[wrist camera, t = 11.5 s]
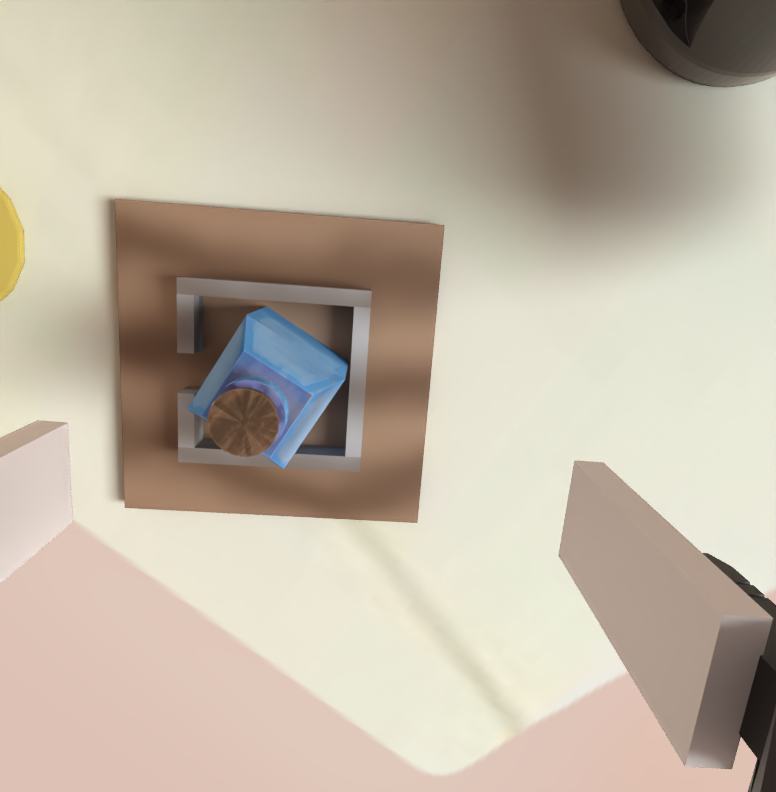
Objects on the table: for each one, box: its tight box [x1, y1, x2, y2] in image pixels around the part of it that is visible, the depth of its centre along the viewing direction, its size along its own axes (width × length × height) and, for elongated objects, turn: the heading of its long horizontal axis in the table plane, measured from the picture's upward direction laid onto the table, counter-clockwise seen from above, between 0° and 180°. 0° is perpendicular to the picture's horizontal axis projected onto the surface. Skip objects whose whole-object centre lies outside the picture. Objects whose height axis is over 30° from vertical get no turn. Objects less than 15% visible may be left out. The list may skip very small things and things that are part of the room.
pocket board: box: [115, 199, 444, 523], centre depth 36 cm, size 20×20×3 cm
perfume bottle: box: [187, 307, 348, 469], centre depth 31 cm, size 6×6×12 cm
